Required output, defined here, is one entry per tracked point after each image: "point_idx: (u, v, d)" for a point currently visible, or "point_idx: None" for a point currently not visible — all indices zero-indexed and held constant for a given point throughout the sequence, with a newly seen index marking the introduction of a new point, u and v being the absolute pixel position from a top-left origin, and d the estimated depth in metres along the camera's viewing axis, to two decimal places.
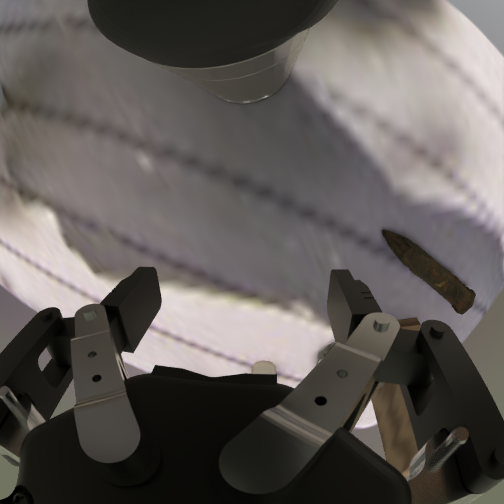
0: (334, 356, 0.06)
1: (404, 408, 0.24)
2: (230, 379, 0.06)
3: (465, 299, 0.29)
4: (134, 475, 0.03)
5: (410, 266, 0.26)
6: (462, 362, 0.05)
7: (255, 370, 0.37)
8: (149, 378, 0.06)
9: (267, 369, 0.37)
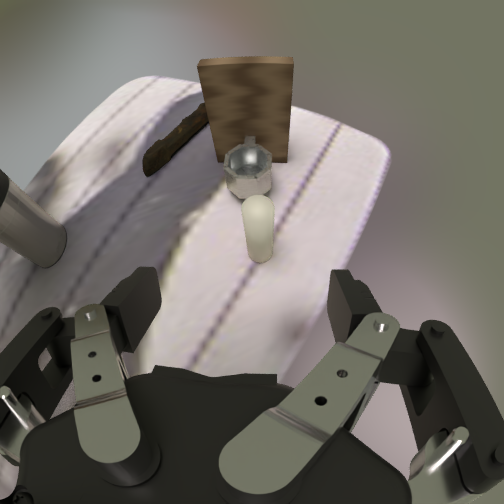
0: (334, 356, 0.06)
1: (223, 104, 0.35)
2: (229, 379, 0.06)
3: (199, 109, 0.49)
4: (134, 475, 0.03)
5: (155, 151, 0.44)
6: (462, 362, 0.05)
7: (249, 254, 0.39)
8: (149, 378, 0.06)
9: None
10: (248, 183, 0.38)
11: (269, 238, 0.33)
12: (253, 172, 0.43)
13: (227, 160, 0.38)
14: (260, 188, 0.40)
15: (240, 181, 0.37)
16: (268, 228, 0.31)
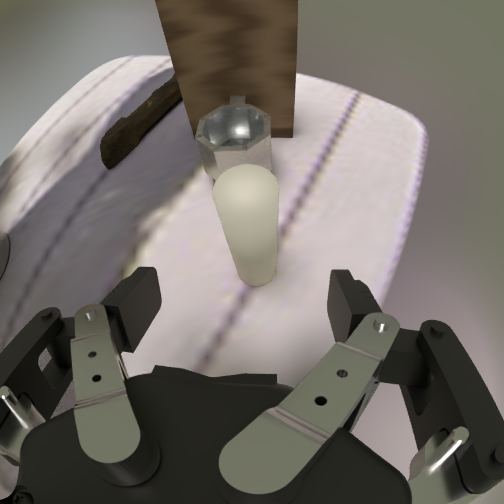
0: (334, 356, 0.06)
1: (195, 46, 0.20)
2: (229, 379, 0.06)
3: (173, 78, 0.34)
4: (134, 475, 0.03)
5: (116, 131, 0.29)
6: (462, 362, 0.05)
7: (239, 273, 0.23)
8: (149, 378, 0.06)
9: None
10: (233, 159, 0.23)
11: (270, 248, 0.18)
12: None
13: (202, 127, 0.24)
14: None
15: (221, 156, 0.23)
16: (268, 228, 0.16)
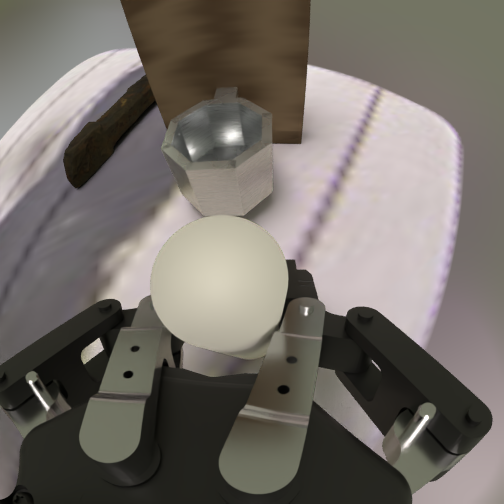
0: (277, 346, 0.06)
1: (165, 20, 0.13)
2: (230, 379, 0.06)
3: None
4: (120, 477, 0.03)
5: (82, 140, 0.21)
6: (402, 342, 0.07)
7: None
8: None
9: None
10: (216, 181, 0.15)
11: (269, 343, 0.11)
12: None
13: (172, 132, 0.16)
14: (248, 192, 0.17)
15: (197, 176, 0.15)
16: (265, 339, 0.08)
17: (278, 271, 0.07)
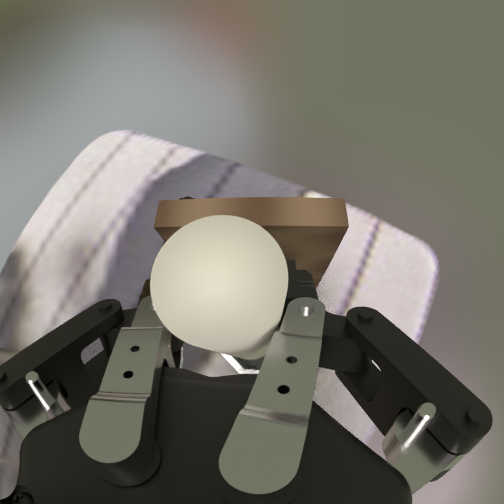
0: (277, 346, 0.06)
1: None
2: (230, 379, 0.06)
3: None
4: (120, 477, 0.03)
5: None
6: (401, 342, 0.07)
7: None
8: None
9: None
10: None
11: (269, 343, 0.11)
12: None
13: None
14: None
15: None
16: (265, 339, 0.08)
17: (278, 271, 0.07)
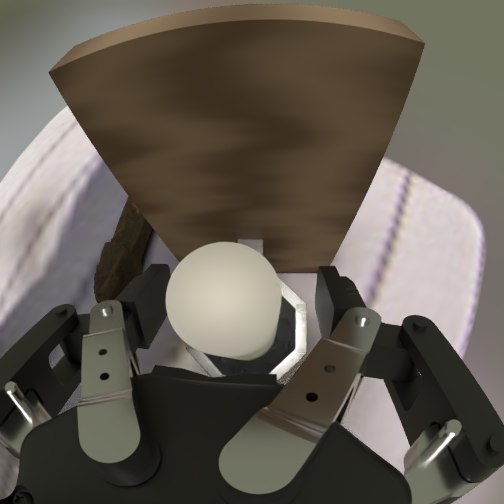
0: (320, 352, 0.06)
1: (167, 176, 0.12)
2: (229, 379, 0.06)
3: None
4: (131, 476, 0.03)
5: (112, 272, 0.20)
6: (447, 356, 0.06)
7: None
8: (149, 378, 0.06)
9: None
10: None
11: (266, 347, 0.12)
12: None
13: None
14: None
15: None
16: (262, 345, 0.09)
17: (273, 291, 0.08)
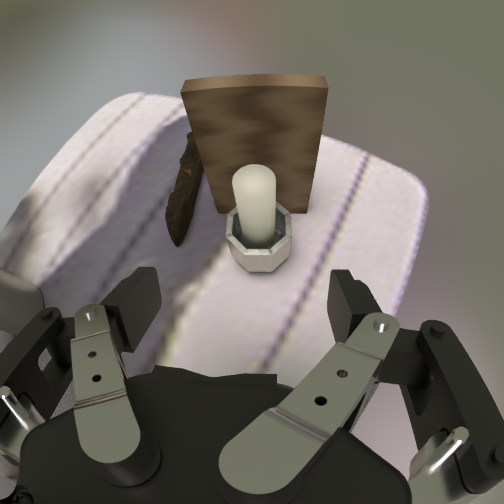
0: (334, 356, 0.06)
1: (223, 144, 0.26)
2: (229, 379, 0.06)
3: (192, 140, 0.40)
4: (134, 475, 0.03)
5: (179, 208, 0.34)
6: (462, 363, 0.05)
7: (246, 246, 0.31)
8: (149, 378, 0.06)
9: None
10: (260, 258, 0.28)
11: (270, 222, 0.26)
12: None
13: (230, 224, 0.29)
14: (276, 261, 0.30)
15: (249, 257, 0.28)
16: (268, 207, 0.23)
17: (272, 178, 0.22)
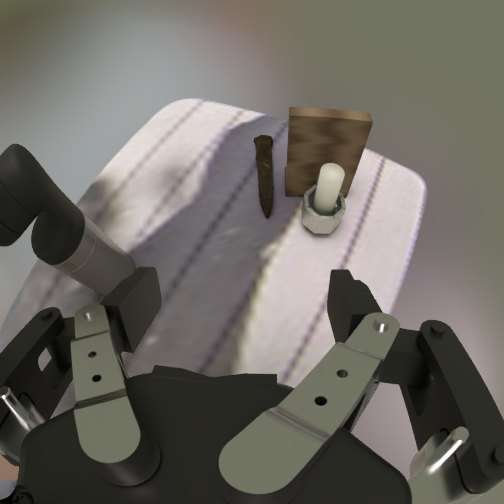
0: (334, 356, 0.06)
1: (305, 149, 0.40)
2: (230, 379, 0.06)
3: (261, 143, 0.55)
4: (134, 475, 0.03)
5: (270, 190, 0.48)
6: (462, 362, 0.05)
7: None
8: (149, 378, 0.06)
9: None
10: (326, 222, 0.43)
11: (336, 198, 0.41)
12: None
13: (307, 200, 0.44)
14: (334, 225, 0.45)
15: (321, 220, 0.43)
16: (339, 188, 0.38)
17: (342, 171, 0.37)
